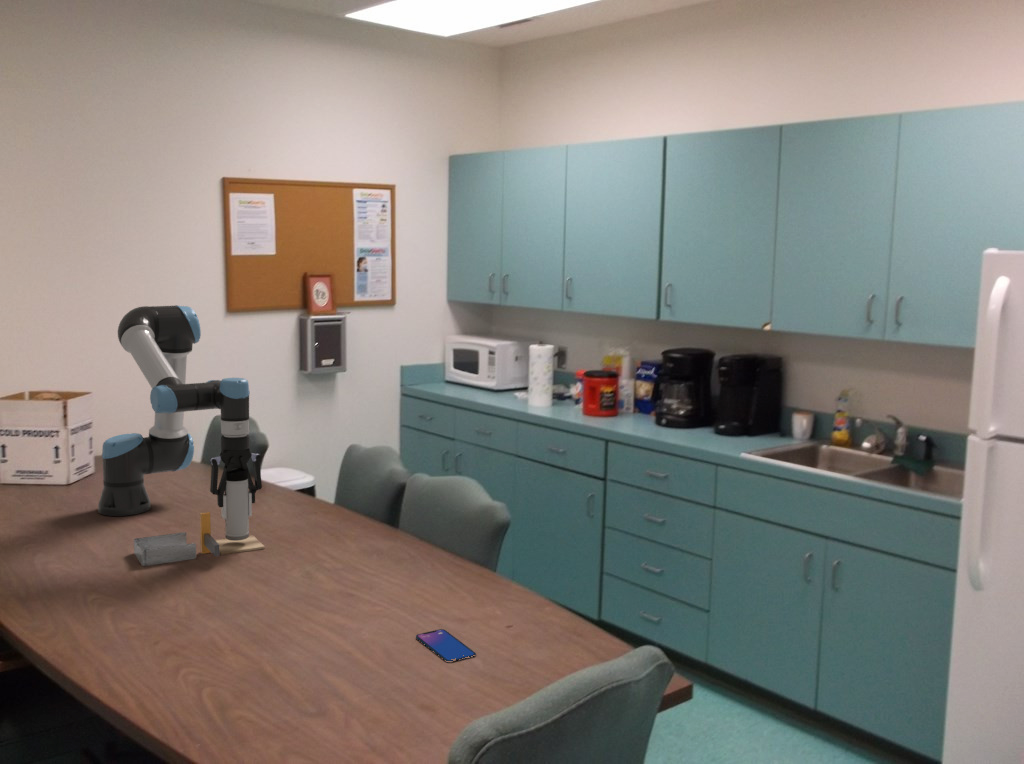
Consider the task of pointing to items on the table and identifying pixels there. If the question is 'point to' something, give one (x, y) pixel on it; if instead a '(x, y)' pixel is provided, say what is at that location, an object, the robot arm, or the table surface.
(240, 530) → the travel mug
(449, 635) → the smartphone
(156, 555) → the holder
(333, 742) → the table surface
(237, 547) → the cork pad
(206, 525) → the bar
